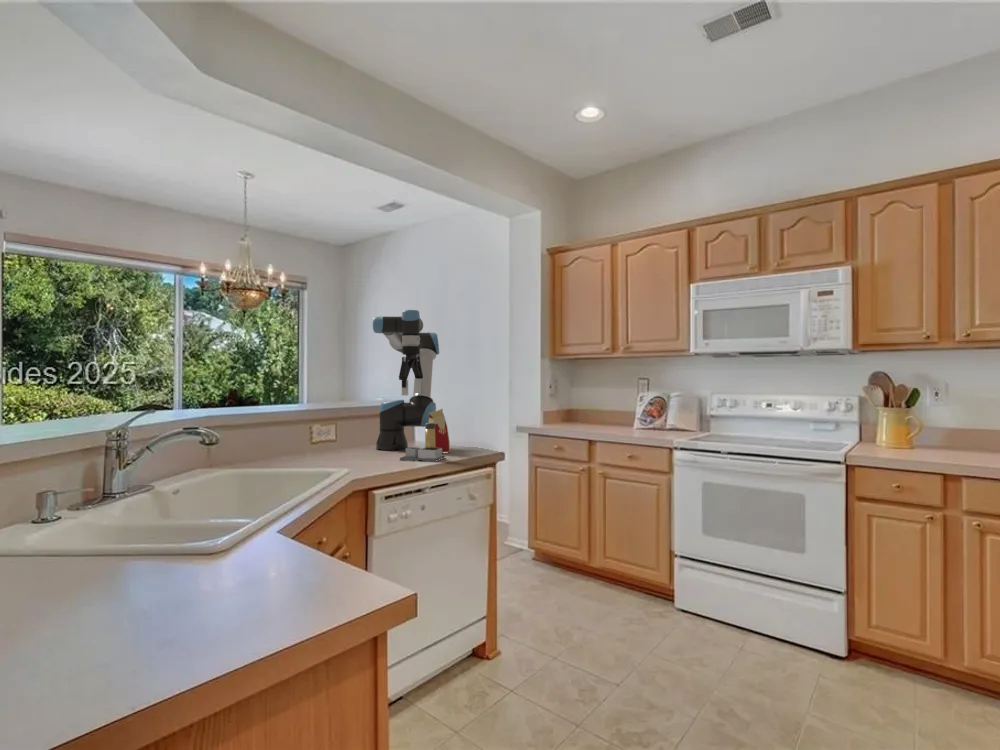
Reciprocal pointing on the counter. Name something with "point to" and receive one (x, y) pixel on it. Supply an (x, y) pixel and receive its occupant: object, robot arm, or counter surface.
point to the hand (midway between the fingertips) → (411, 394)
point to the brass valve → (430, 436)
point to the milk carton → (440, 430)
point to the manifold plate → (422, 454)
